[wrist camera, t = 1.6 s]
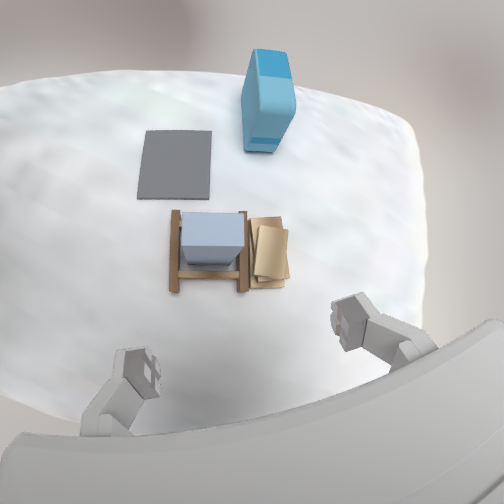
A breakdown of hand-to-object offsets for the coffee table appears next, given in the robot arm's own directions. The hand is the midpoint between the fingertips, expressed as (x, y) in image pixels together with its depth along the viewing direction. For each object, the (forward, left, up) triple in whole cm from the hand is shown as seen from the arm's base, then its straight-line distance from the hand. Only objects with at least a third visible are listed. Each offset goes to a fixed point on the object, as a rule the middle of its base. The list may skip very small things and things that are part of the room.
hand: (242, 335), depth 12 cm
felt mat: (-6, +21, -26) cm, 33 cm away
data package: (+6, +29, -26) cm, 39 cm away
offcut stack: (+7, +8, -26) cm, 28 cm away
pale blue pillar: (-1, +8, -26) cm, 27 cm away
